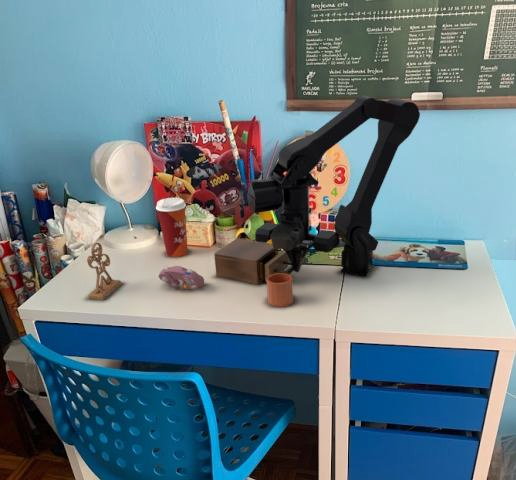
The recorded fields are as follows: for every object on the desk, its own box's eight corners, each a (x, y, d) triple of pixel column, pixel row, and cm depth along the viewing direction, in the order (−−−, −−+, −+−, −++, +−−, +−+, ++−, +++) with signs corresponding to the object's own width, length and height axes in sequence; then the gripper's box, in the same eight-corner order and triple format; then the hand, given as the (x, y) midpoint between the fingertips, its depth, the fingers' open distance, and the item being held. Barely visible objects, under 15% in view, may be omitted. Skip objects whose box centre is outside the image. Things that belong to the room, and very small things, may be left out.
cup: (297, 298, 131) (296, 275, 128) (285, 308, 127) (285, 285, 124) (275, 293, 133) (274, 271, 130) (263, 304, 129) (262, 281, 126)
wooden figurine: (107, 282, 143) (97, 235, 137) (121, 283, 142) (112, 236, 136) (88, 298, 136) (77, 250, 130) (103, 300, 135) (92, 251, 129)
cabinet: (278, 267, 145) (278, 244, 142) (257, 284, 137) (256, 260, 134) (238, 260, 150) (237, 238, 147) (216, 276, 143) (214, 253, 139)
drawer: (303, 269, 141) (303, 253, 139) (285, 285, 134) (285, 268, 132) (251, 260, 148) (250, 244, 145) (231, 275, 141) (230, 258, 139)
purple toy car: (163, 292, 140) (153, 273, 135) (170, 277, 142) (160, 258, 137) (200, 296, 137) (192, 278, 131) (207, 281, 139) (198, 262, 134)
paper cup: (186, 258, 153) (179, 206, 146) (158, 258, 155) (150, 206, 147) (195, 247, 160) (189, 196, 152) (168, 246, 161) (161, 196, 154)
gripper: (240, 212, 127) (245, 278, 135) (320, 223, 118) (319, 292, 127) (265, 197, 135) (268, 260, 143) (341, 206, 127) (339, 272, 135)
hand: (297, 271), depth 137 cm, fingers closed
